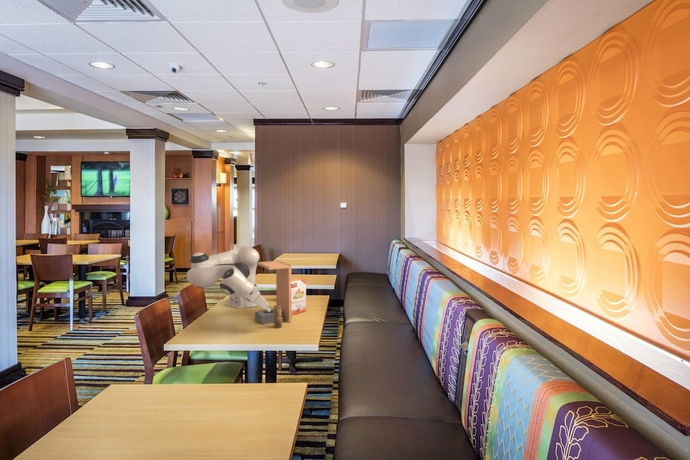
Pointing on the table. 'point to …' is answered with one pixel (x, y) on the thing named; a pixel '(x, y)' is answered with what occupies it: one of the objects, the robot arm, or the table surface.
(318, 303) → the table surface
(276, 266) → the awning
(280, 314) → the peg
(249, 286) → the robot arm
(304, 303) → the cracker box
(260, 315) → the socket
